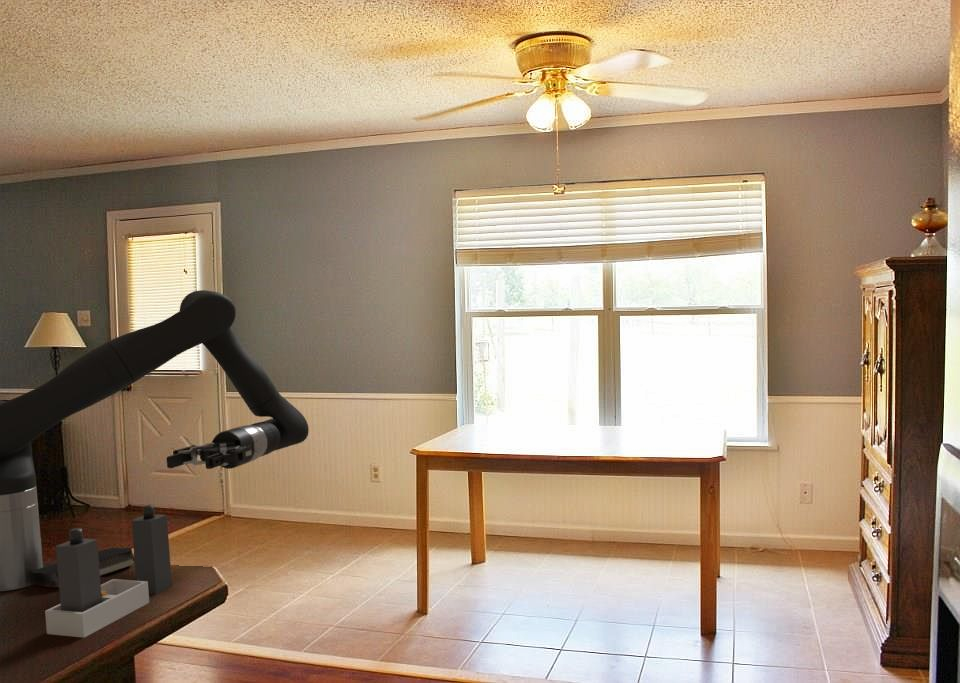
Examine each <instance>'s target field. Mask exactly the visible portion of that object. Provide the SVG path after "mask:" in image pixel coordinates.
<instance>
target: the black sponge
mask: <svg viewBox="0 0 960 683" xmlns="http://www.w3.org/2000/svg"><path fill="white" fill-rule="evenodd" d="M98 557H99V570H100V577H101V576H103V575H106V574H110V573H113V572H116V571H118V570H121V569H125V568H127V567H128V568H129V567H130V566H132V565H133V564H134V563H135V562H134V551H133V549H132V548H130V547H121V548H120V547H112V548H111V547H110V548H107V549H106V548H105V549H102V550H98ZM32 573H33V575H34V579H35V584H36V585H37V586H39V587H42V586H43V587H48V588H49V587H51V588H59V579H58V566H57V563H54V564H51V565H47V566H43V568H40V569H36V570H34V571H32Z"/></svg>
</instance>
